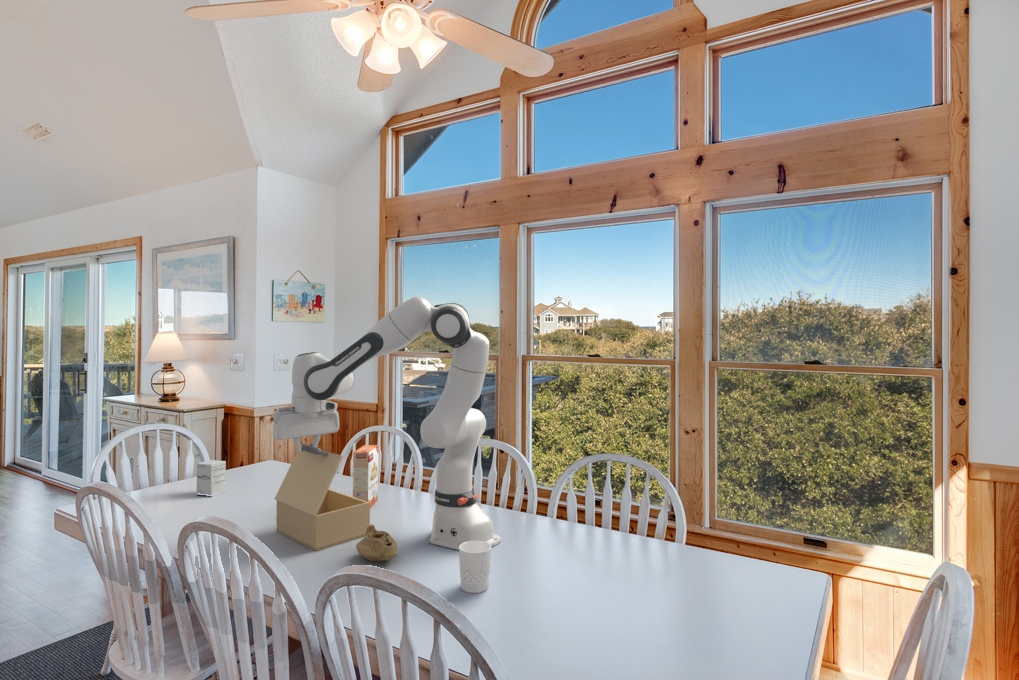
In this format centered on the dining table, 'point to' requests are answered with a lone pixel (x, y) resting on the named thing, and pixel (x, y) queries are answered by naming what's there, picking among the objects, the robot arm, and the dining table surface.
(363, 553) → the oil lamp
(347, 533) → the carton
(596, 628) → the dining table surface
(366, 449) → the cracker box
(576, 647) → the dining table surface
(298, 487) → the carton lid
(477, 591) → the white cup
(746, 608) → the dining table surface
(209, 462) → the supplement box
